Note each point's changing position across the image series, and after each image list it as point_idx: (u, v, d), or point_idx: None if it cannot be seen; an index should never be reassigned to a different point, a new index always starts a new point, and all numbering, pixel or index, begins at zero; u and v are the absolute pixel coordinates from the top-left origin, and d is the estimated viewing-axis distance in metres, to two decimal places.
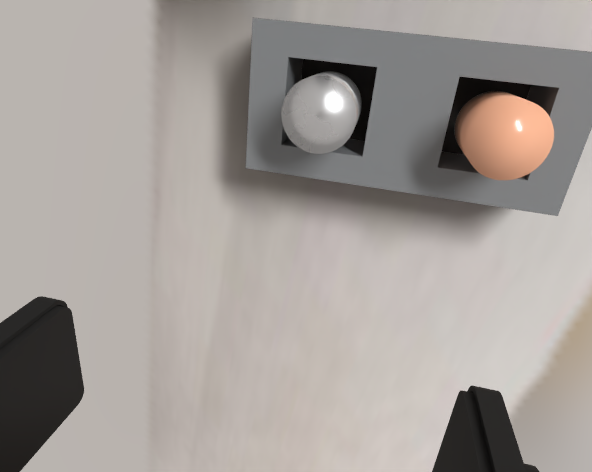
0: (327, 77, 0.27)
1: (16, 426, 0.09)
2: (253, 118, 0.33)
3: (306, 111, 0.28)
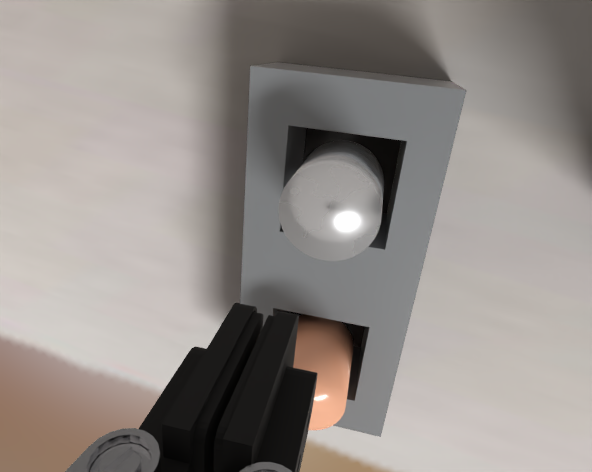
0: (378, 227, 0.20)
1: None
2: (324, 83, 0.22)
3: (335, 199, 0.20)
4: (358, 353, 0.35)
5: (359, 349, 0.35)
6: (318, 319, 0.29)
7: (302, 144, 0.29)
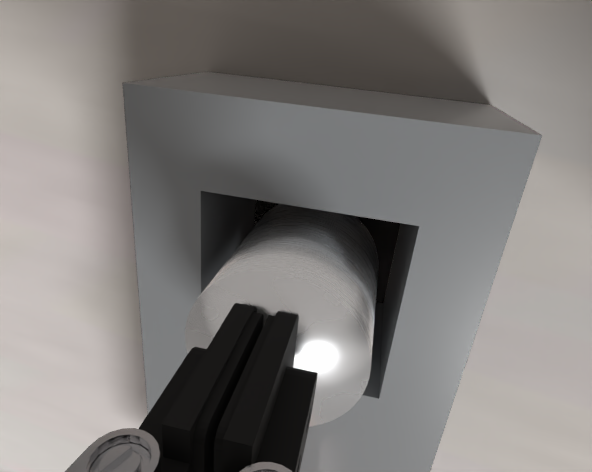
0: (365, 382, 0.11)
1: None
2: (261, 117, 0.11)
3: None
4: None
5: None
6: None
7: (249, 201, 0.18)
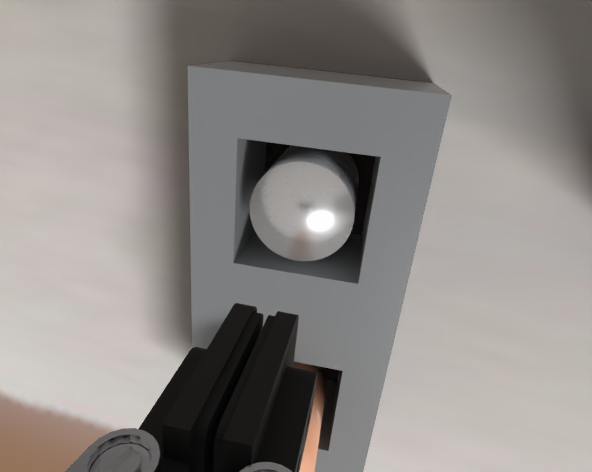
0: (351, 226, 0.20)
1: None
2: (279, 87, 0.18)
3: (307, 198, 0.20)
4: (333, 389, 0.31)
5: (335, 384, 0.31)
6: None
7: (262, 157, 0.25)
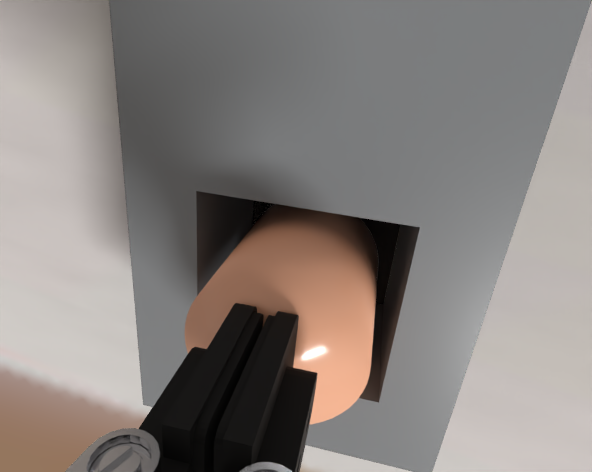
0: None
1: None
2: None
3: None
4: (380, 314, 0.19)
5: (381, 307, 0.19)
6: None
7: None
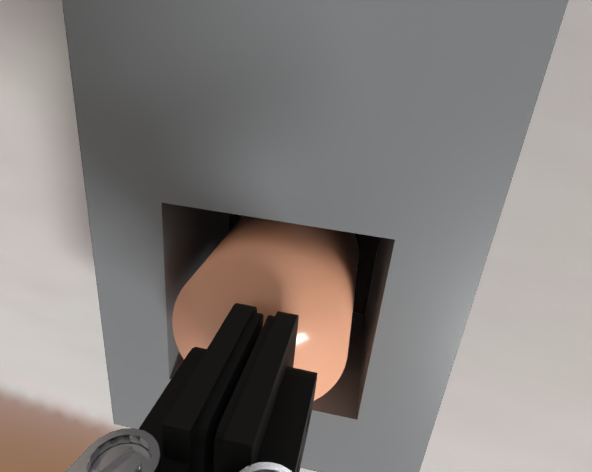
0: None
1: None
2: None
3: None
4: (361, 324, 0.18)
5: (362, 317, 0.19)
6: None
7: None
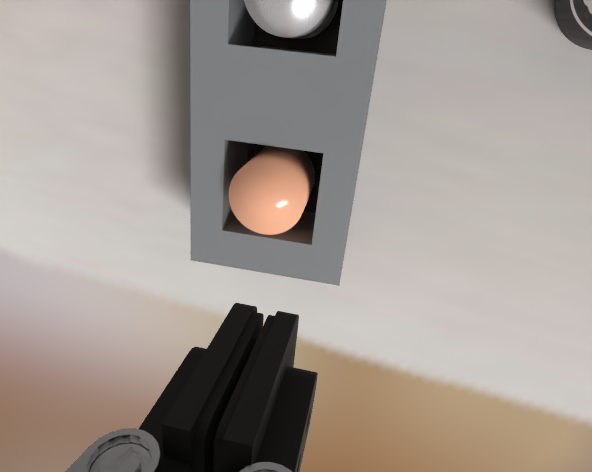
0: None
1: None
2: None
3: None
4: None
5: None
6: None
7: None
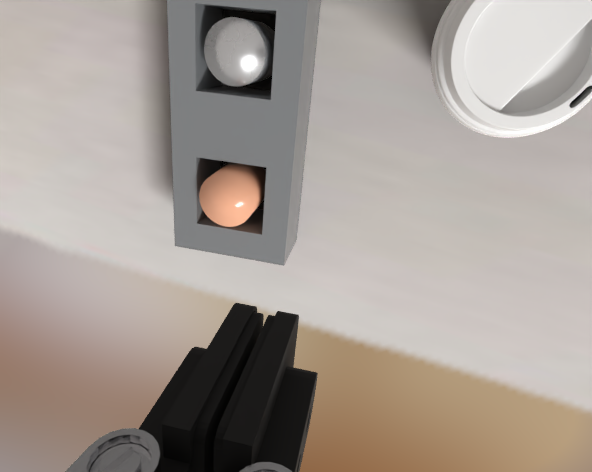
0: (264, 60, 0.33)
1: None
2: None
3: (236, 41, 0.33)
4: None
5: None
6: None
7: None
